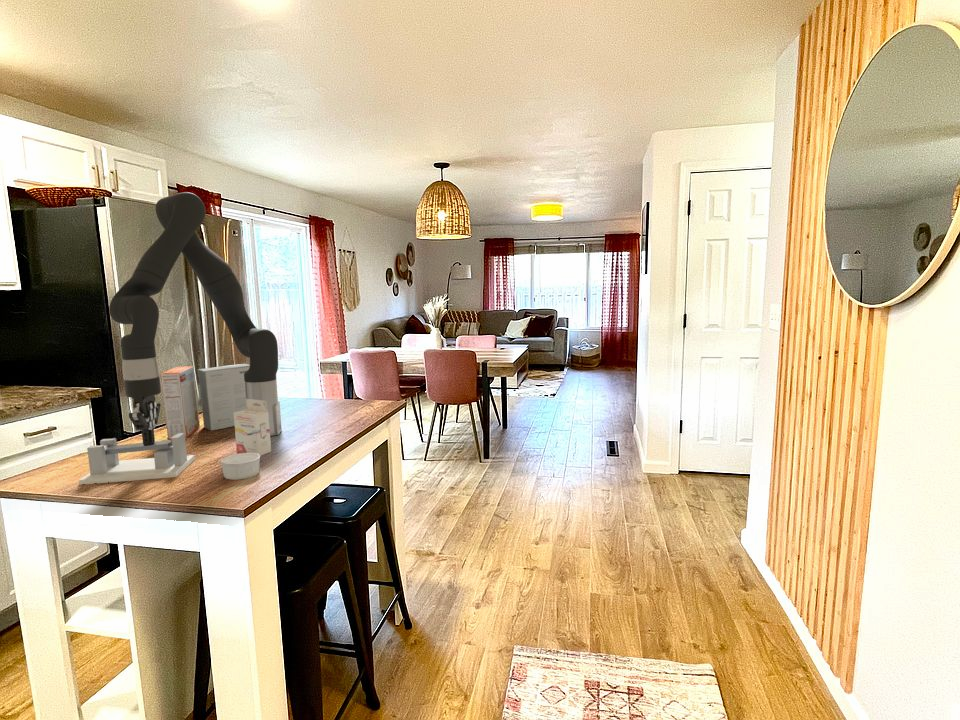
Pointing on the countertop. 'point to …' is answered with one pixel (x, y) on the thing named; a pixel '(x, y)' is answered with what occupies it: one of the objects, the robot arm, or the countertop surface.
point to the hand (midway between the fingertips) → (149, 444)
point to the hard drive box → (222, 394)
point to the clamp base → (136, 463)
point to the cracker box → (180, 401)
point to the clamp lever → (137, 447)
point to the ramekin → (241, 465)
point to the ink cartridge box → (253, 428)
